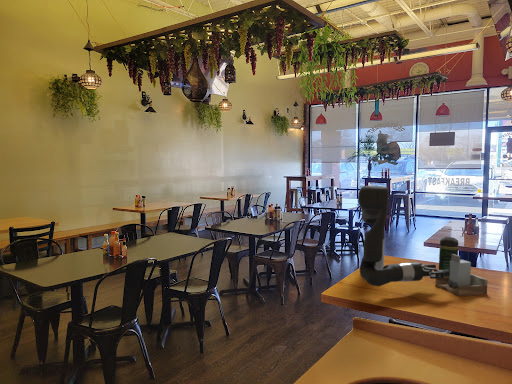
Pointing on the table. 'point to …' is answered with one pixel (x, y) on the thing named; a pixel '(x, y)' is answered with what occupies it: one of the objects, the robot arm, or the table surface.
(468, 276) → the grey upright block
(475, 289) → the tray
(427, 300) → the table surface
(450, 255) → the coffee jar
